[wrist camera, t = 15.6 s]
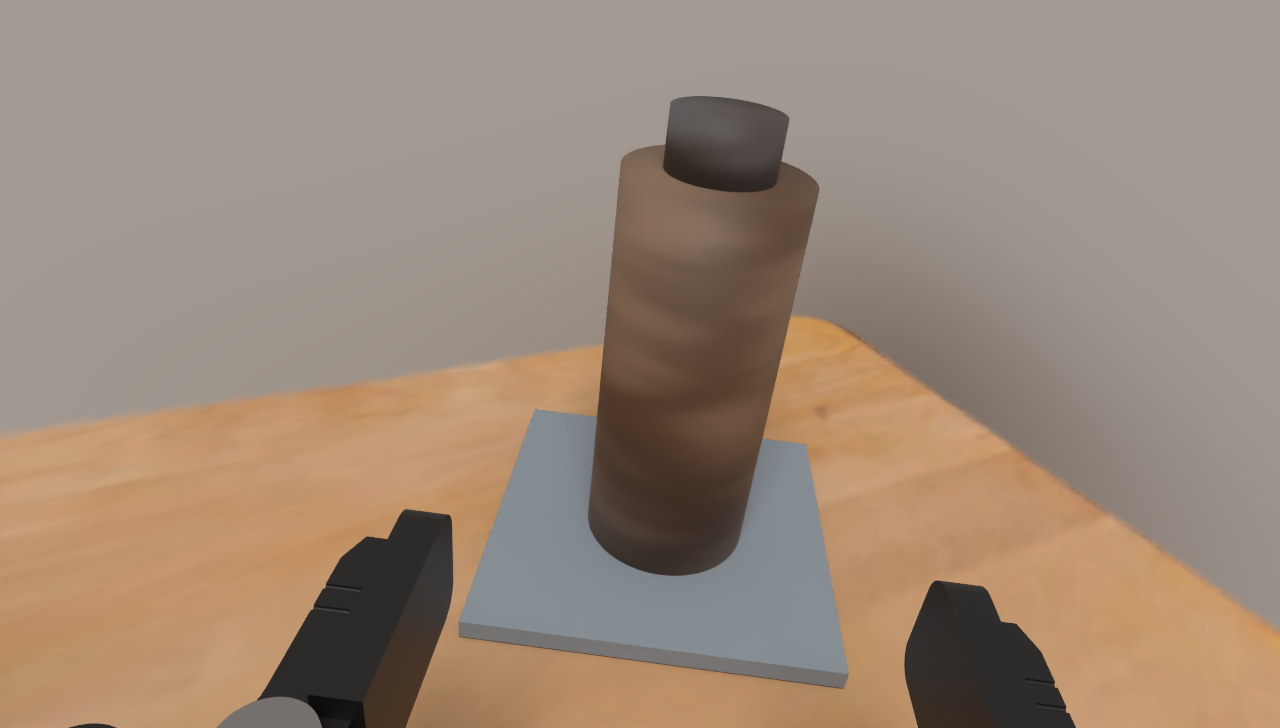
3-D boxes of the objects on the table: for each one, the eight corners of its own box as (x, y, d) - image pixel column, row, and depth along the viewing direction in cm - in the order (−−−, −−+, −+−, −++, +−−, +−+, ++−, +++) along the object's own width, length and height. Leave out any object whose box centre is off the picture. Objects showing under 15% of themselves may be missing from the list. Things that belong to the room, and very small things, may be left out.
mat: (459, 636, 22) (458, 621, 22) (534, 421, 32) (535, 409, 31) (843, 688, 22) (848, 674, 22) (802, 456, 31) (806, 444, 31)
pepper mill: (576, 563, 24) (615, 121, 17) (598, 461, 29) (636, 78, 22) (742, 586, 24) (847, 151, 17) (738, 480, 29) (820, 102, 22)
